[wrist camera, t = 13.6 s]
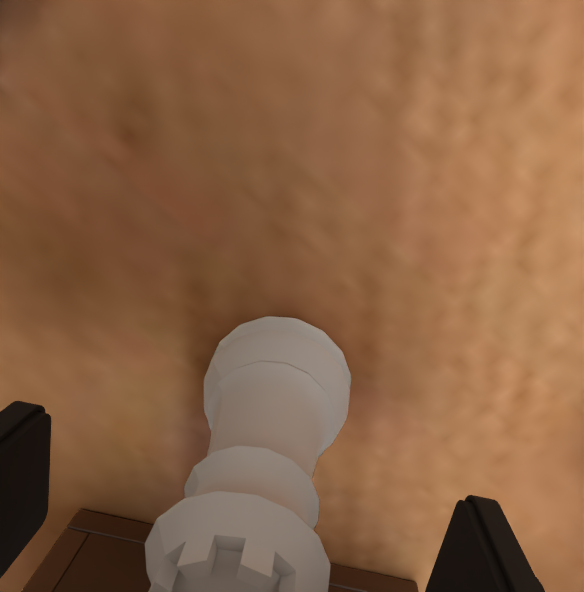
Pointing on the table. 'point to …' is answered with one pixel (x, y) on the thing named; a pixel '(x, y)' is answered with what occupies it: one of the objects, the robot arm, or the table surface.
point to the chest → (144, 561)
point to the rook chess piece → (257, 467)
